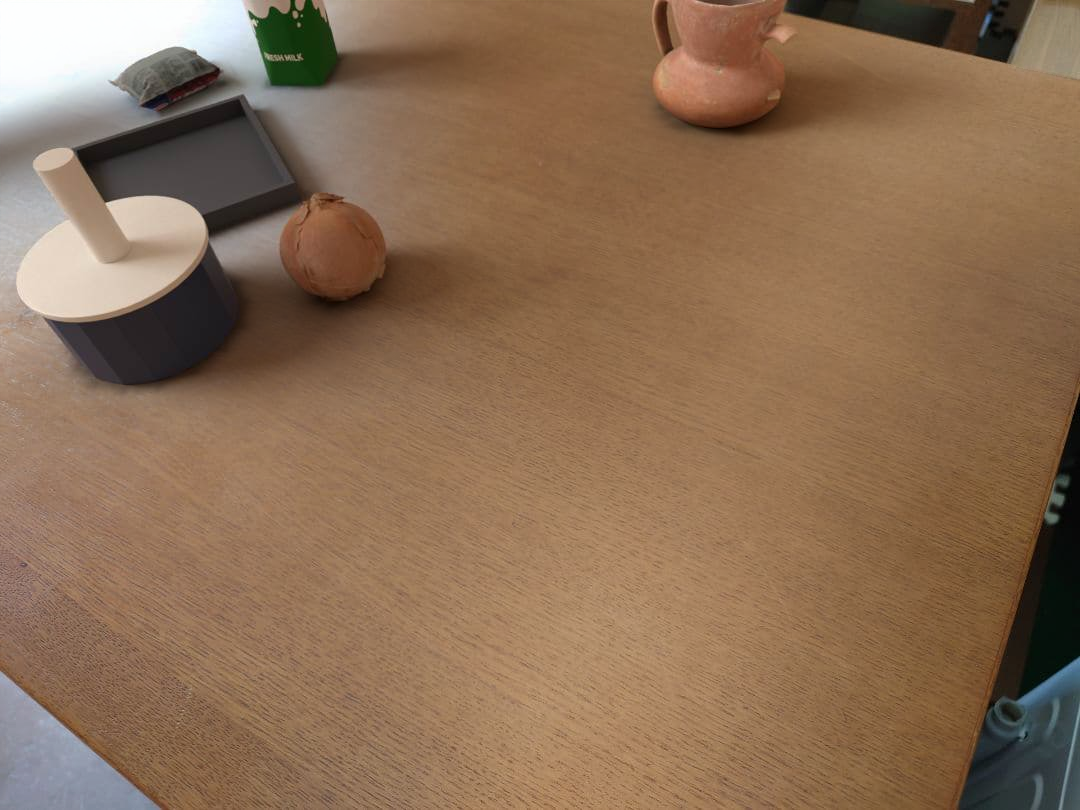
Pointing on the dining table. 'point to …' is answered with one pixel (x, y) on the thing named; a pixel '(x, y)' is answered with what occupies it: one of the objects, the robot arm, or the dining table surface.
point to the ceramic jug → (719, 60)
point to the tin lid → (106, 248)
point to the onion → (332, 248)
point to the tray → (195, 163)
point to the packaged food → (167, 77)
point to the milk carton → (293, 40)
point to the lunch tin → (158, 330)
